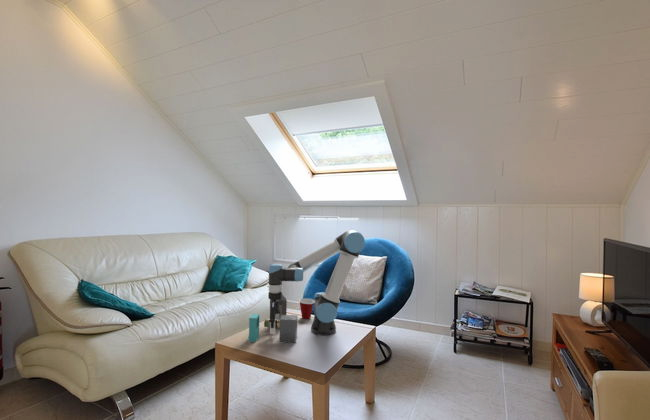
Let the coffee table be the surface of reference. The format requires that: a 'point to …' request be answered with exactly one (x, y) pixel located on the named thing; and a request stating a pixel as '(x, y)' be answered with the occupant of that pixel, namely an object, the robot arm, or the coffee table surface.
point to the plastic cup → (306, 307)
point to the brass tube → (267, 323)
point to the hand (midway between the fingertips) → (274, 329)
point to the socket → (253, 327)
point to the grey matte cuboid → (288, 328)
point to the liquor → (281, 306)
